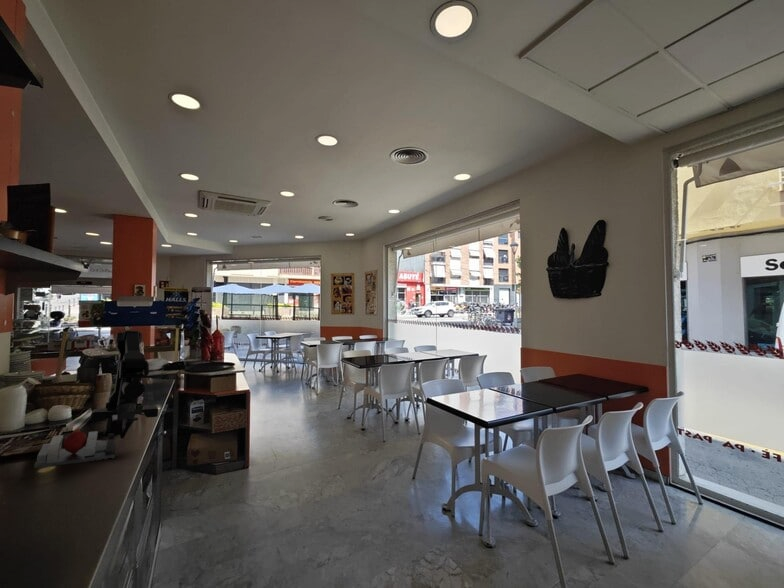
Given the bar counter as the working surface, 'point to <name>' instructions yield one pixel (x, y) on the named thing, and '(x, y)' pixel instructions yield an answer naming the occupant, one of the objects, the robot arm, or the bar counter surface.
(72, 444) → the onion
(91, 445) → the sliding jaw
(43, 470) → the bar counter surface
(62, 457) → the vise base
